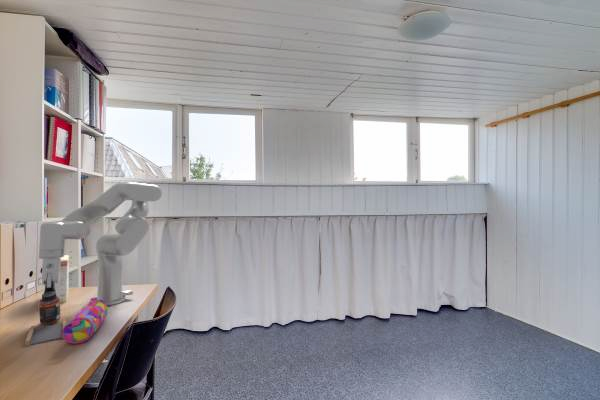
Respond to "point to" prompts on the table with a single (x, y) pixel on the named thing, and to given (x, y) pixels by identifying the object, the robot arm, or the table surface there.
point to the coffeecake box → (63, 280)
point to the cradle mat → (45, 334)
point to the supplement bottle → (49, 308)
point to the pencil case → (85, 322)
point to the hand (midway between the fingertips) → (49, 300)
